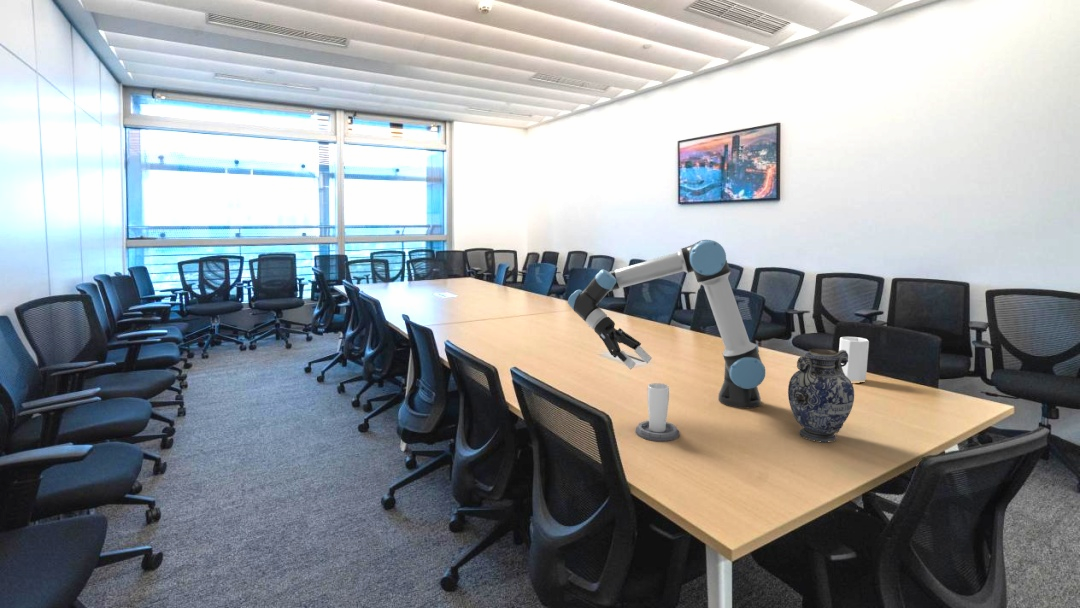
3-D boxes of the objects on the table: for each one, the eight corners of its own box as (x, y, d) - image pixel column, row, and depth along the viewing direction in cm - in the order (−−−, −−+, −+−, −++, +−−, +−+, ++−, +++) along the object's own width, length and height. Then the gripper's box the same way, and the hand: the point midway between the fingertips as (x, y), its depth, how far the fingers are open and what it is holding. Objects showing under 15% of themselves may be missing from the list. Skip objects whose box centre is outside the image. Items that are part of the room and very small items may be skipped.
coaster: (680, 428, 178) (681, 422, 178) (677, 443, 165) (677, 437, 164) (638, 423, 182) (639, 417, 182) (632, 438, 169) (632, 432, 169)
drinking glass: (656, 435, 169) (657, 390, 167) (642, 428, 175) (643, 384, 173) (672, 431, 172) (673, 387, 170) (658, 425, 178) (659, 381, 176)
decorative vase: (819, 452, 158) (825, 360, 154) (769, 431, 175) (774, 348, 171) (867, 441, 166) (874, 353, 163) (816, 422, 183) (821, 342, 180)
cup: (871, 384, 227) (875, 341, 225) (845, 384, 228) (848, 341, 225) (856, 376, 238) (859, 336, 236) (831, 376, 239) (834, 336, 236)
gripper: (610, 327, 209) (649, 365, 200) (577, 334, 188) (619, 377, 180) (621, 313, 205) (661, 351, 197) (589, 318, 185) (632, 361, 177)
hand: (641, 363), depth 188 cm, fingers open, 13 cm apart
